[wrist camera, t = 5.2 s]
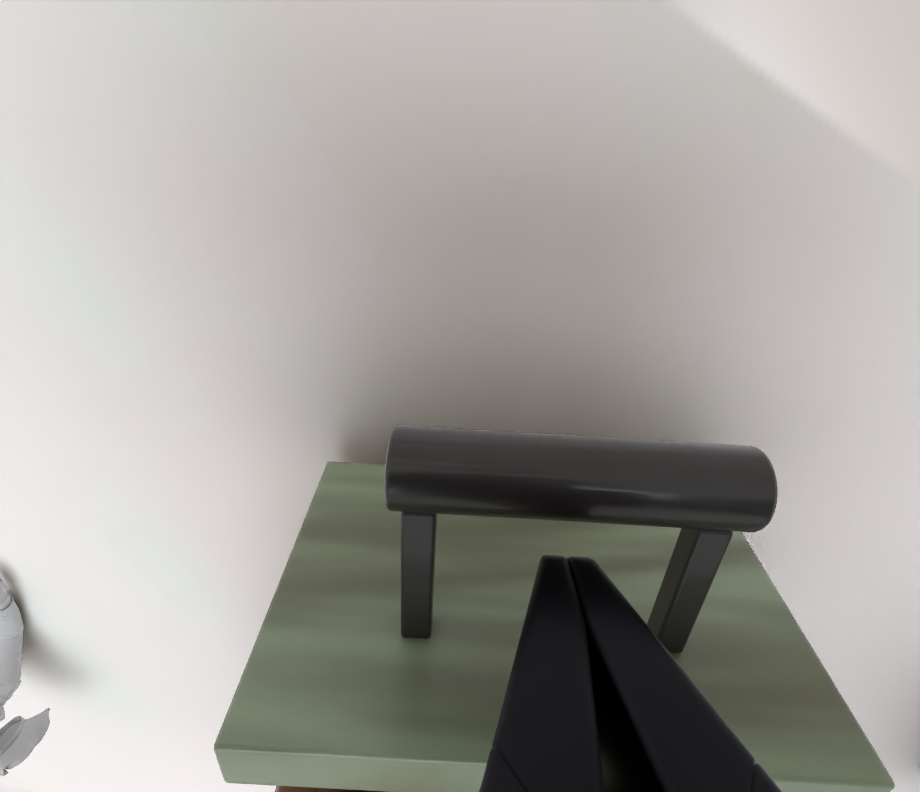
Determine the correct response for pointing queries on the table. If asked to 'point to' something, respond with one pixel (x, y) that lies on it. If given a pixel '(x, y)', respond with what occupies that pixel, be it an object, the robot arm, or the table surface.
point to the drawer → (520, 609)
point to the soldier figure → (3, 672)
